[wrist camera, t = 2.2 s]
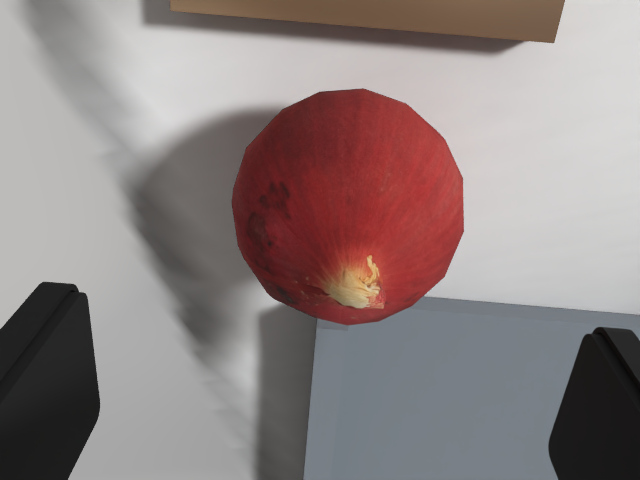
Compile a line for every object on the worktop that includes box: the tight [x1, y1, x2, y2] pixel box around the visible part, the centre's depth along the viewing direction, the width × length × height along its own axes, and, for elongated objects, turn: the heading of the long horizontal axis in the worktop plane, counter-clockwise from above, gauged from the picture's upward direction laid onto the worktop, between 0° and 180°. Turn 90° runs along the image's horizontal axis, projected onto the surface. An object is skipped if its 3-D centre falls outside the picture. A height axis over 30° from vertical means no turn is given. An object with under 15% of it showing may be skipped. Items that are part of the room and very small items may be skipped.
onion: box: [232, 89, 464, 326], centre depth 15 cm, size 6×6×8 cm
